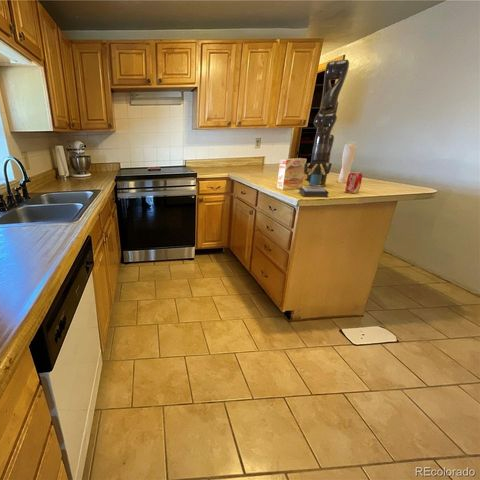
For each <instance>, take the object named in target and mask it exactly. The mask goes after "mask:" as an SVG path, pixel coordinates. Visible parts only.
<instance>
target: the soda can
mask: <svg viewBox="0 0 480 480" xmlns="http://www.w3.org/2000/svg"><path fill="white" fill-rule="evenodd" d="M362 173H363V172H362V171H350V174H349V175H348V179H347V183H345V189H344V190H345V192H346V193H347V194H357V193H359V192H360V189H361V185H362V181H363V174H362Z"/></svg>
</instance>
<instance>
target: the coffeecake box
mask: <svg viewBox="0 0 480 480" xmlns="http://www.w3.org/2000/svg"><path fill="white" fill-rule="evenodd" d="M305 163H307V158H305V157H304V158H303V157H296V158H295V157H294V158H280V159H279V167H278V176H277V183H276V189H278V190H281V191H288V190H298V189H300V188H303V186H304V185H303V184H304V179H305V173H304V164H305Z"/></svg>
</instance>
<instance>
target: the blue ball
mask: <svg viewBox="0 0 480 480" xmlns="http://www.w3.org/2000/svg"><path fill="white" fill-rule="evenodd" d="M310 175H311V177H310V182H308V184H309V185H310V184H311V185H319V184H321V180H322V174H321V173H311V174H310ZM311 185H310V186H311Z"/></svg>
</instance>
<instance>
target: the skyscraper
mask: <svg viewBox="0 0 480 480" xmlns="http://www.w3.org/2000/svg"><path fill="white" fill-rule="evenodd" d="M354 144H355V145H354ZM357 146H358V145H357V143H356V142H355V141H348V142H347V143H346V144H344V148H343V152H342V157H341V169H340V172H339V175H338V180H337V183H340V184H341V183H342V184H346V183H347V179H348V175H349V174H350V172H352V171H351V169H352V165H353V163H354V162H353V161H354V160H355V157H356V153H357Z"/></svg>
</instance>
